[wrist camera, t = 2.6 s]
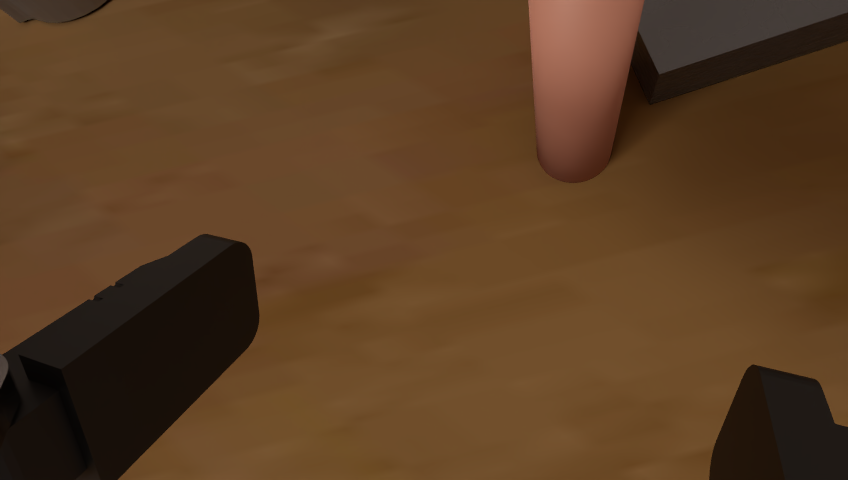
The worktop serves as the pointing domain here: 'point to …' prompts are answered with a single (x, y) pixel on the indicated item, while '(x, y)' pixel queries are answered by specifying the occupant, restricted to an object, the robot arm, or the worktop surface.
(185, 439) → the worktop surface
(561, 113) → the peg
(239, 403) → the worktop surface
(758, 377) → the robot arm
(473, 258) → the worktop surface
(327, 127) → the worktop surface
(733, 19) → the socket plate
